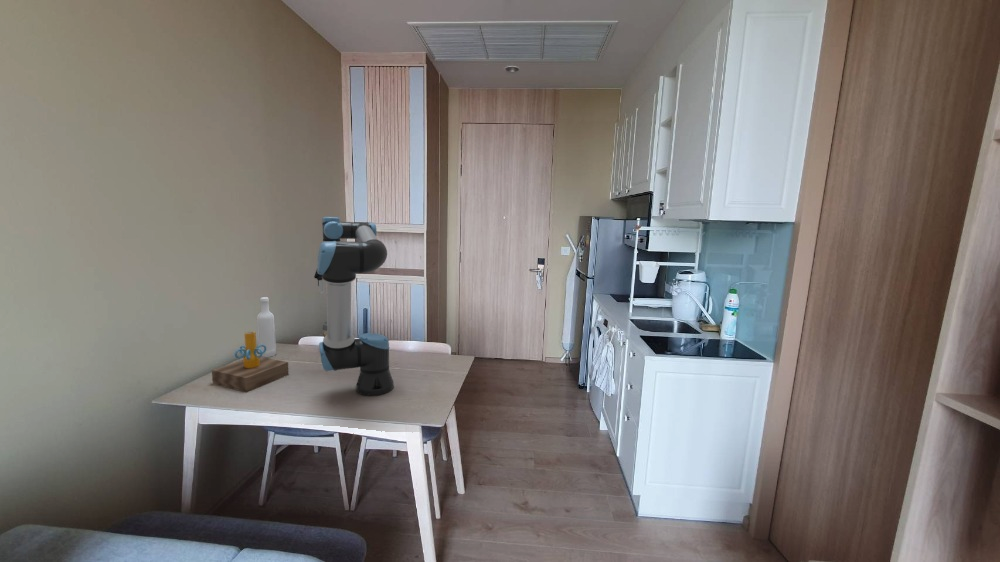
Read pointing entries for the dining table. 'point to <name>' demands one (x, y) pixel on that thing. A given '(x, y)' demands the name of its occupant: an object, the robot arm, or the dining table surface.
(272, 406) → the dining table surface
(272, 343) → the bottle
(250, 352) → the yellow tube with loops
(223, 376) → the walnut block
